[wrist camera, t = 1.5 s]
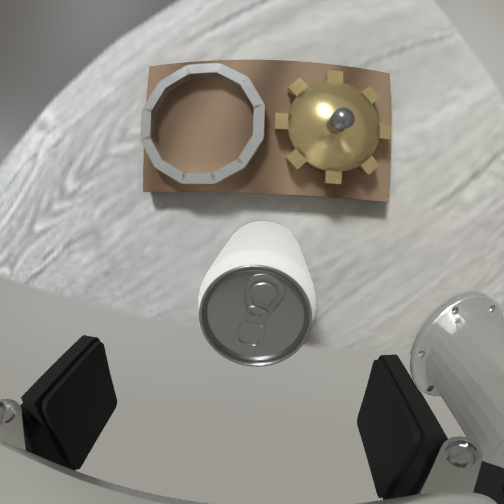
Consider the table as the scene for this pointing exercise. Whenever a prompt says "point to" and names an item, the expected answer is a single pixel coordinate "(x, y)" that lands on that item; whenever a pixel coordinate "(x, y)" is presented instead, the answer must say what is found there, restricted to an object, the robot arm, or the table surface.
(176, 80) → the ring
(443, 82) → the table surface
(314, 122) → the gear
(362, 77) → the gear board
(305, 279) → the can
